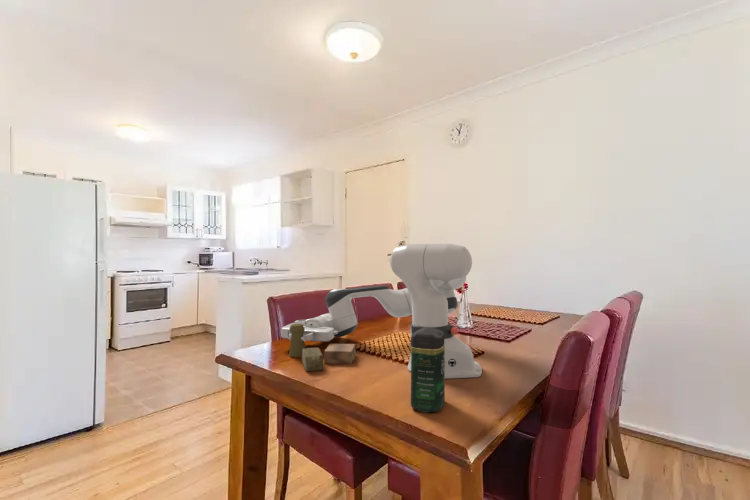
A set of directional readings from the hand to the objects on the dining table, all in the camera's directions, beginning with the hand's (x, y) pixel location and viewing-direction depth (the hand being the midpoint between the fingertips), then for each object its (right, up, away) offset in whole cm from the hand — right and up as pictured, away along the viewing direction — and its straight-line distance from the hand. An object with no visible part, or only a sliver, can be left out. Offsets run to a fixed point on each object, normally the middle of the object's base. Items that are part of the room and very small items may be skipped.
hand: (296, 338), depth 131 cm
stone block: (+8, -7, -11) cm, 15 cm away
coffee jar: (+41, -7, -41) cm, 58 cm away
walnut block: (+16, -6, -4) cm, 18 cm away
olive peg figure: (0, -6, +1) cm, 6 cm away
